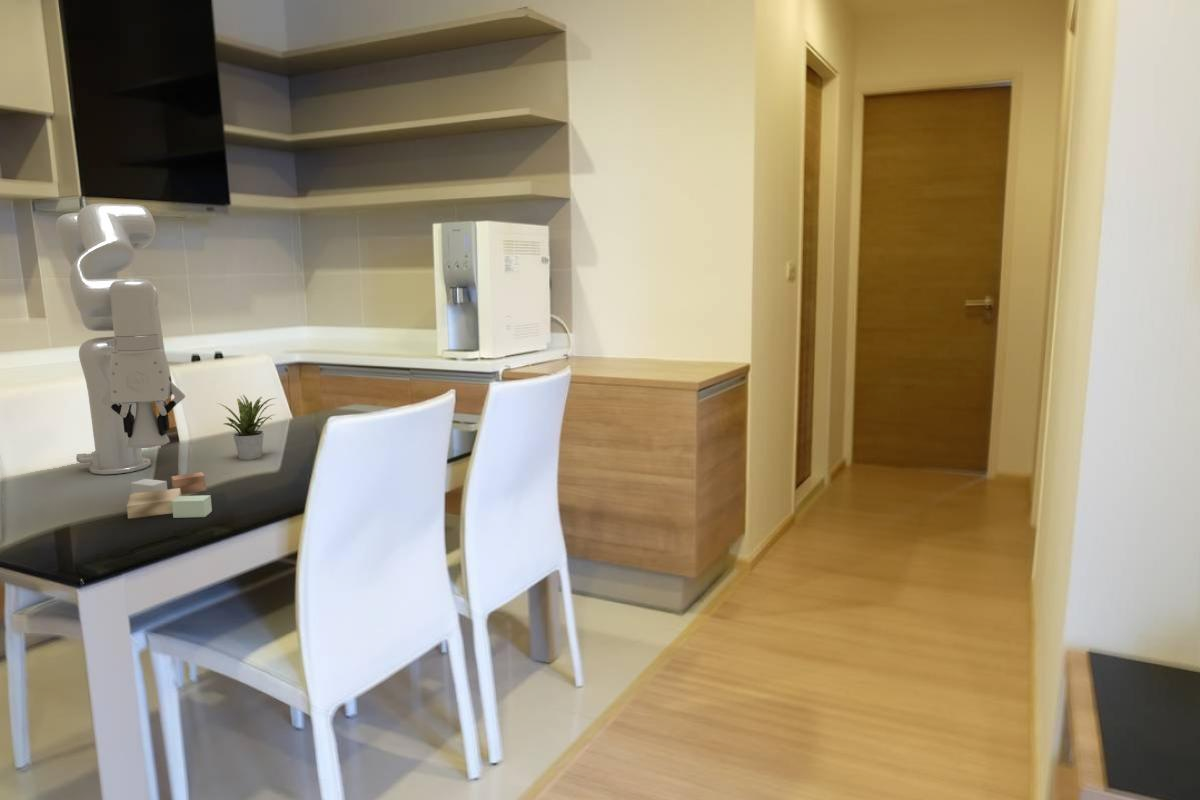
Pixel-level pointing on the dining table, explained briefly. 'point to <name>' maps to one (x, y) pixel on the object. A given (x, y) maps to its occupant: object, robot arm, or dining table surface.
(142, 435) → the flask
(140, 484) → the grey brick
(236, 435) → the house plant
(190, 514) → the sage brick
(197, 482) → the cherry brick
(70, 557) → the dining table surface
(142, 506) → the oak block
